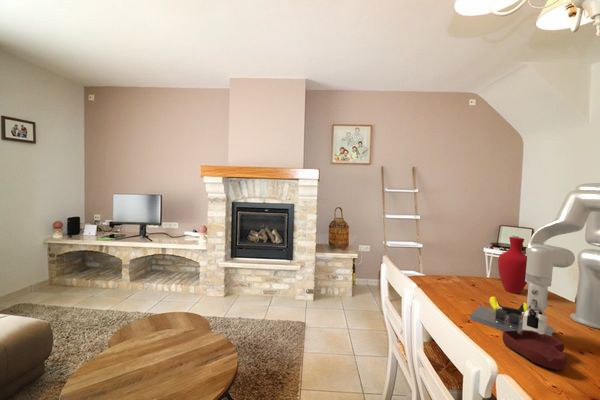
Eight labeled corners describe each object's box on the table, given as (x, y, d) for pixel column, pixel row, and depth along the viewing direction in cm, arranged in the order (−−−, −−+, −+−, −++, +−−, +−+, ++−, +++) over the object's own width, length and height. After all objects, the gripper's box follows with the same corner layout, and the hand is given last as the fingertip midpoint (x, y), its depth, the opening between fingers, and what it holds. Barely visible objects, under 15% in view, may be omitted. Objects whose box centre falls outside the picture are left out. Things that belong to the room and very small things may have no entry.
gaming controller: (488, 306, 131) (490, 314, 122) (489, 294, 130) (491, 302, 122) (528, 314, 123) (533, 323, 114) (529, 302, 123) (535, 311, 114)
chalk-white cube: (525, 323, 110) (526, 310, 109) (545, 330, 105) (547, 316, 105) (522, 328, 105) (523, 315, 105) (543, 335, 101) (544, 321, 101)
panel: (553, 332, 108) (554, 318, 107) (548, 346, 98) (550, 331, 97) (480, 309, 126) (481, 297, 126) (469, 319, 116) (470, 306, 116)
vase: (490, 288, 155) (494, 235, 153) (505, 285, 161) (509, 234, 159) (520, 298, 141) (524, 241, 140) (535, 294, 147) (540, 239, 146)
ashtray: (503, 334, 105) (504, 322, 105) (562, 352, 94) (563, 338, 94) (499, 355, 91) (500, 341, 91) (567, 379, 81) (569, 362, 81)
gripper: (548, 287, 96) (544, 334, 96) (554, 277, 107) (550, 320, 108) (521, 281, 101) (517, 326, 102) (529, 272, 113) (526, 313, 114)
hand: (534, 323), depth 105 cm, fingers open, 9 cm apart
